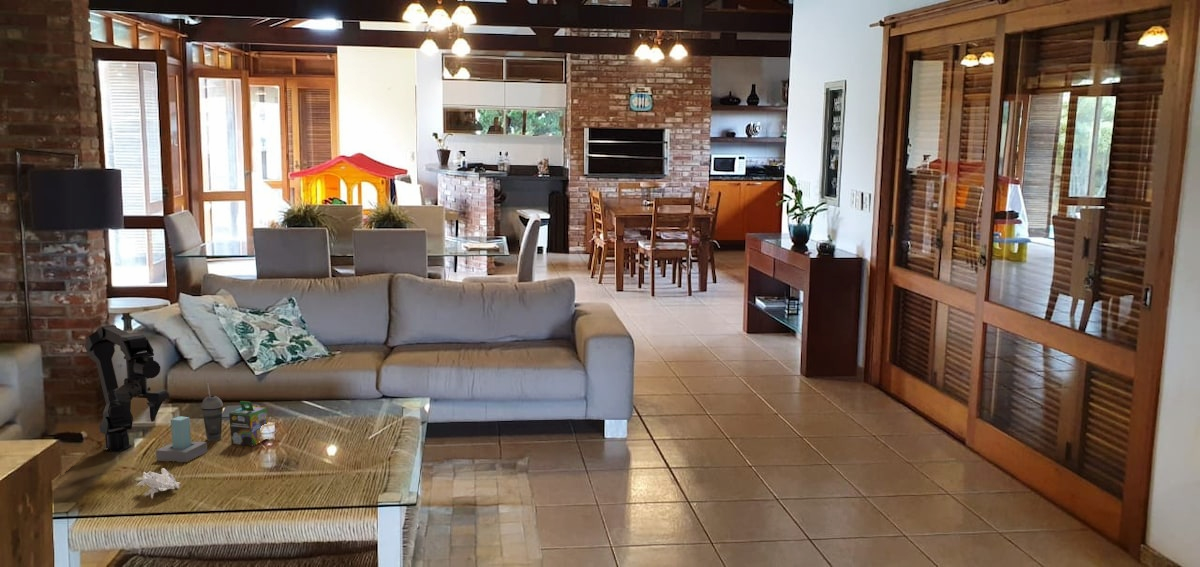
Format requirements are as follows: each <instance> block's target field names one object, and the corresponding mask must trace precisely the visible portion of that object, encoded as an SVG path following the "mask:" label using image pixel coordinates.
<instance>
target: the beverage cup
mask: <svg viewBox="0 0 1200 567" xmlns="http://www.w3.org/2000/svg"><path fill="white" fill-rule="evenodd" d="M206 386H207V393H208V396H206V397H204V399H203V400H202V403H201V407H200V410H201V414H202V416H203V423H204V429H205V436H206V439H207V440H206V441H207V442H217V441H220V440H221V439H222V433H223V432H222V427H223V426H222V425H223V424H222V423H223V421H222V412H223V408H224V405H223V404H224V403H223V400H222V399H220V398H219V397H218V396H216V395H211V391H210V384H209V383H206ZM219 439H220V440H219ZM216 440H217V441H216Z"/></svg>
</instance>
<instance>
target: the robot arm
mask: <svg viewBox="0 0 1200 567" xmlns="http://www.w3.org/2000/svg"><path fill="white" fill-rule="evenodd" d="M116 345H118V346H119V349H120V350H119V351H121V352H122V353H123V355H124V356H123V360H125V366H126V377H125V378H124V381H123V385H121V386H119V384H118V381H117V376H116V371H115V368H114V364H113V357H114V355H115V352H116V350H115V346H116ZM84 347H85V351H86V352H87V354H88V357H89V358H90V359H91V360H92V361H93V362H94V363H95V365H96V368H97V372H98V377H99V381H100V385H101V389H102V393H103V394H102V395H103V398H104V401H105V406H104V409H103V412H102V417H103V418H102V420H101V422H100V424H99V427H98V428H99V432H100V433H101V434H103V435H104V436H105V437H104V438H105V439H104V440H105V448H108V449H107V450H112V451H111V452H121V451H123V450H126V449H128V448H130V447H132V444H130V438H129V437H130V436H129V434H128V430H133V428H132V427H133V420H134V416H133V414H132V411H131V406H132V405H131V404H132V400H133V399H134V398H137V399H138V398H140V399H146V400H147V402H146V404H147V406H148V407H149V416H150V422H151V423H152V422H154V421H155V420H156V417H157V415H158V412H159V410H160V408H161V406H162V404H163V402H166V400H168V399H170V393H169V391H168V390H167V389H155V390H153V391H151V387H148V379H154V378H156V377H157V376H159V375H160V373H161V365H160V363H159V362H157V361H156V360H154V357H155V353H154V351H155V350H154V349H153V347H152V344H151V343H150V341H149V339H148V338H147V337H146V335H145V334H141V333H130V332H127V331H125V330H123V329H121V328H118V327H117V326H116V325H114V324H108V325H101V326H100V327H97V329H96V331H94V332H93V333H92V334H90V335H89V336H88V337H87V338H86V340H85V342H84ZM105 450H106V449H105Z"/></svg>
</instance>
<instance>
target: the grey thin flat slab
mask: <svg viewBox="0 0 1200 567" xmlns="http://www.w3.org/2000/svg"><path fill="white" fill-rule="evenodd" d="M244 406H245V407H246V406H249V405H248V404H244ZM252 406H253V407H261V405H259V404H258V403H257V404H255V403H254V404H253V403H252ZM239 408H242V407H241V404H237V405H226V406H224V407H223V412H222V420H230V417H229V413H230V412H232V411H235V410H237V409H239Z"/></svg>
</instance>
